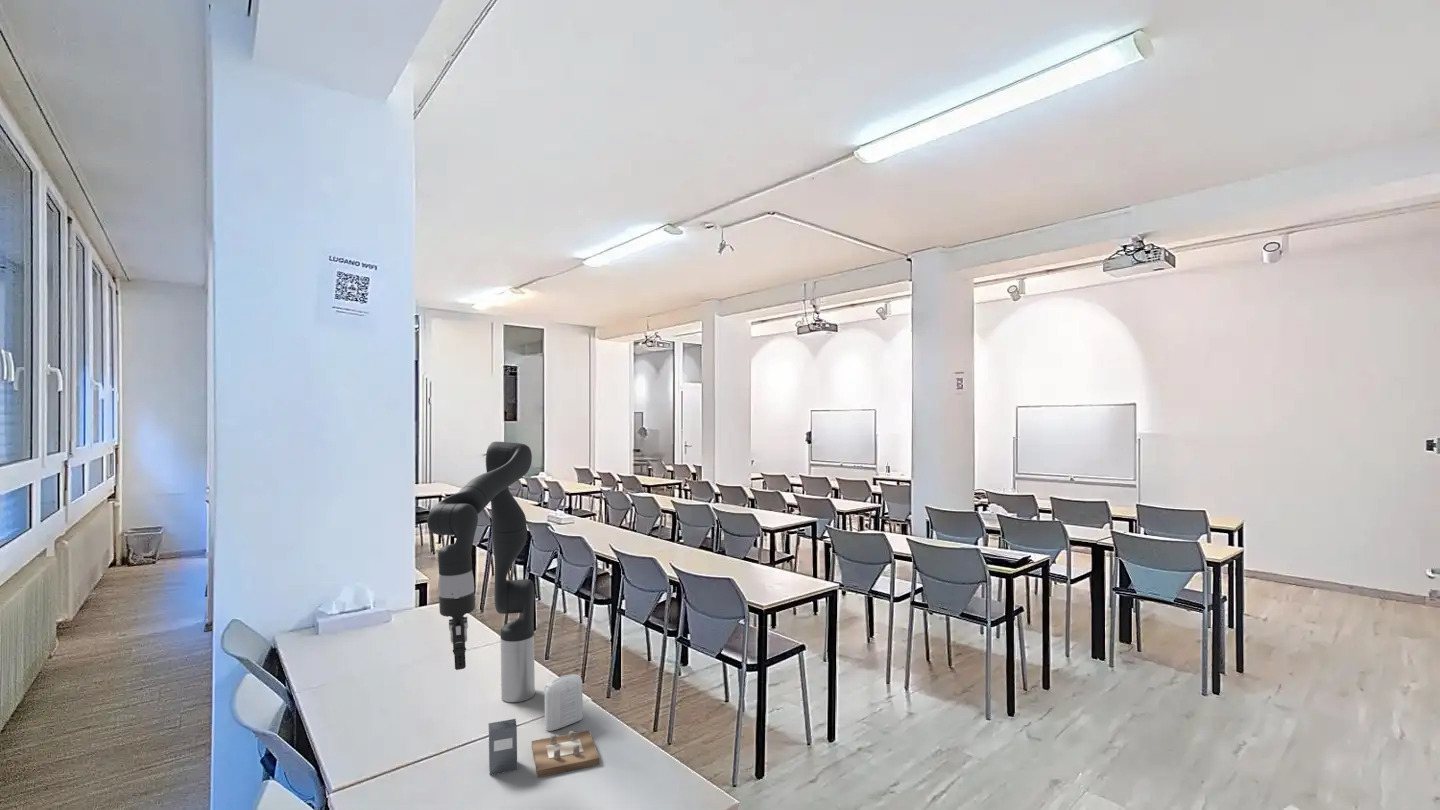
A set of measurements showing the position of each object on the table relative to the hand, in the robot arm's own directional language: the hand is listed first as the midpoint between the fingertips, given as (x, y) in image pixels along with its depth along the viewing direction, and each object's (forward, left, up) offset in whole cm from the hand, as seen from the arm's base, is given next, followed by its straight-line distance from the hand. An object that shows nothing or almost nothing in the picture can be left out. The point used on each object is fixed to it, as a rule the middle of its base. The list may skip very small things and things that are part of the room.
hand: (460, 661), depth 150 cm
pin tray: (+1, +23, -26) cm, 34 cm away
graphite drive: (+1, +9, -26) cm, 27 cm away
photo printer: (-15, +25, -26) cm, 39 cm away
